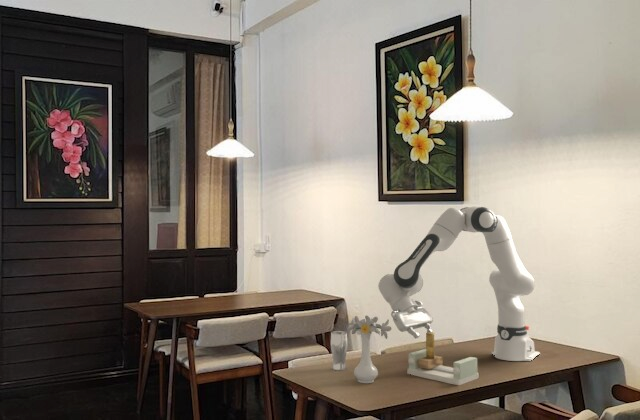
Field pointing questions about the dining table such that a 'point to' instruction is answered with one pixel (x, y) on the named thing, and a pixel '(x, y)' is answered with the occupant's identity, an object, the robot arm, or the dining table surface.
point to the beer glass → (339, 350)
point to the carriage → (430, 354)
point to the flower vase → (367, 346)
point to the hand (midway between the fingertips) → (424, 335)
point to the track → (444, 369)
